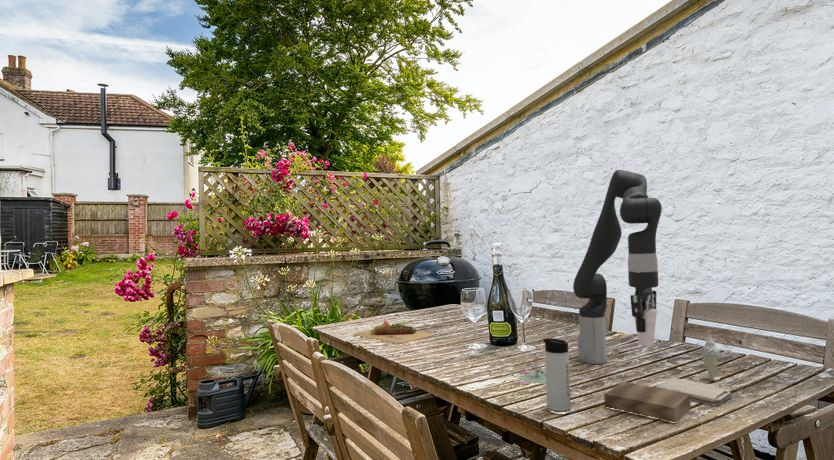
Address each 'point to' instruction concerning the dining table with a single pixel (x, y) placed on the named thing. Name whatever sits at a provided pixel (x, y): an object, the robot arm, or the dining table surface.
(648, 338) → the smoothie
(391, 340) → the cutting board
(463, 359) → the dining table surface
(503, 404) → the dining table surface
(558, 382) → the travel mug
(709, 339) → the ice cream cone
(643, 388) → the walnut base
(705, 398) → the washcloth
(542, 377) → the plant
